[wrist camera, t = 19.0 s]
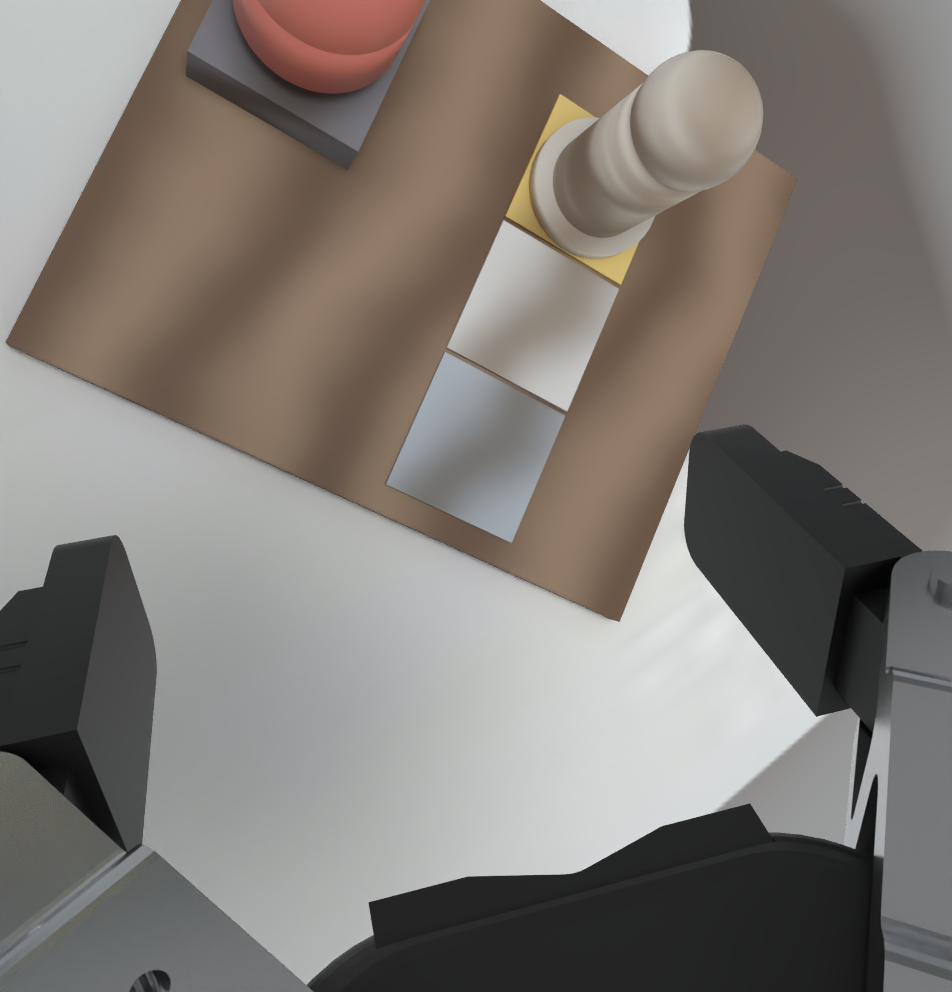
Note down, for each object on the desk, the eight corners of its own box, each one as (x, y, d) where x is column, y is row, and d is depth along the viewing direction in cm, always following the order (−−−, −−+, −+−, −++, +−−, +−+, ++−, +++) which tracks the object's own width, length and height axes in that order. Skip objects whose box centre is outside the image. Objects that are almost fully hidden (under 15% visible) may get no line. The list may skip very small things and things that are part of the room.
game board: (9, 345, 31) (-5, 333, 29) (272, -170, 34) (282, -224, 31) (610, 619, 39) (643, 629, 37) (786, 185, 42) (827, 165, 39)
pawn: (507, 215, 36) (628, 124, 27) (561, 98, 37) (698, -32, 28) (618, 283, 38) (768, 220, 29) (668, 170, 39) (830, 71, 29)
